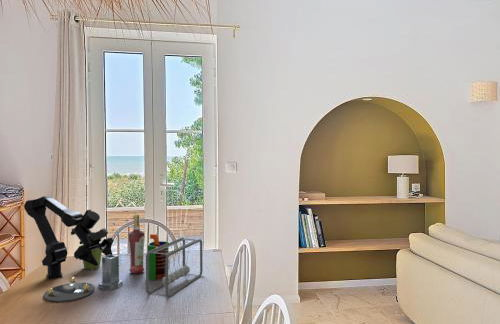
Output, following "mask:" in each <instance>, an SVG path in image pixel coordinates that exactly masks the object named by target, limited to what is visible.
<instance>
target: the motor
mask: <svg viewBox="0 0 500 324" xmlns="http://www.w3.org/2000/svg"><path fill="white" fill-rule="evenodd" d="M149 239H151V240H153V241H151V242H148V243H147V252H149V251H151V250H153V249H155V248H158V247H160V246H163V245H165V244H167V243H170V242H169V241H167V240H159V236H158V234H157V233H150V235H149ZM164 248H165V247H164ZM169 249H170V246H169V247H167V249H166V248H165V249H162V252H161V250H160V251H158V250H157V251H158V252H156V253H168V252H170V250H169ZM166 250H168V251H166ZM156 253H150V254H149V281H154V282H155V281H156V280H162V279H163V278H164V277H165V270H164V268H165V258H166V255H165V254H156ZM162 256H163V258H162ZM163 262H164V264H163Z"/></svg>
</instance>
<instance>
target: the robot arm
mask: <svg viewBox="0 0 500 324" xmlns="http://www.w3.org/2000/svg"><path fill="white" fill-rule="evenodd" d="M23 208H24V210H25V212H26V214H27V215H28V216H29V217H31V218H32V219H33V220H34V221H35V224H36V225H37V229H38V230H39V233H40V235H41V237H42V239H43V241H44V243H45V246H46V247H45V252H44V253H45V256H44V257H43V259H42V260H41V262H42V266H44V267H47V268H46V269H47V273H46V280H52V279H59V278H63V272H62V263H64V262H66V260H67V256H68V253H69V252H68V248H67V246H66V244H65V242H64V241H59V240H58V238H57V237H56V234H55V232H54V230H53V228H52V226H51V224H50V221H49V219H48V217H47V215H46V211H47V209H48V210H49V211H51V212H52V213H54V214H56V215H57V216H58V217H59V218H60V219H61V222H62V223H63V225H64V226H66V227H68V228H70V227H74V228H71V232H70V235H71V236H74V235H76V236H77V237H76V238H78V239H79V240H80V241H79V244H80V245H79V246H78V247H77V249H76V250H75V251H74V253H73V257H74V258H75V259H76V260H79V261H82V262H83V261H86V262H88V263H91V264H93V265H95V266H98V263H97V261H96V259H95V258H94V256H93V255H92V252H91V251H92V250H95V249H98V248H99V249H100V250H102V255H103V254H104V255H105V256H107V255H114V254H113V251H112V245H113V243H114V241H115V240H114V239H113V238H112V237H107V235H108V234H109V232H108V230H107V229H106V228H105V227H104V228H101V229H99V230H98V231H96V232H95V231H93V232H92V231H91V229H93V228H94V226H95V225H96V224H97V223H98V222H99V220H100V219H101V217H100V214H99V213H97V212H95V211H94V210H91V209H86V211H85V212H84V213H83V214H82V213H81V212H80V211H79V212H78V211H77V210H75V209H70V208H68V207H67V206H65V205H64V204H62V203H60V202H59V201H58V200H56V199H55V198H54V197H53V196H52V195H45V196H41V197H39V198H35V199H29V200H26V201H25V203H24V204H23ZM102 239H103V240H102ZM81 245H83V246H81Z"/></svg>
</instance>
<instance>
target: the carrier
mask: <svg viewBox="0 0 500 324" xmlns="http://www.w3.org/2000/svg"><path fill="white" fill-rule="evenodd" d="M69 279H70V282H69V283H68V282H66V283H65V284H60V285H57V286H54V287H48V288H47V290H46V291H45V292H44V294H43V298H44V300H45V301H47V302H52V303H66V302H73V301H74V302H75V301H78V300H82V299H84V298H87V297H89V296H91V295H92V294H93V293H94V292H96V286H95V285H94V284H92V283H91V282H90V283H89V282H76V276H71V277H70V278H69Z"/></svg>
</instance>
